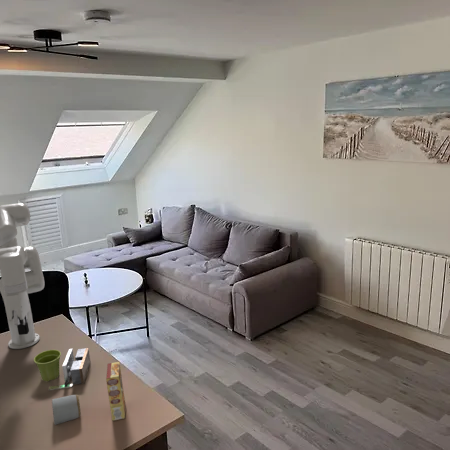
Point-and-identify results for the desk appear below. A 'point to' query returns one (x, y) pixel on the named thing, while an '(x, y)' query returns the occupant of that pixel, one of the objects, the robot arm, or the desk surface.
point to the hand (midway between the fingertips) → (24, 333)
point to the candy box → (115, 391)
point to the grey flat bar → (68, 366)
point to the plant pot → (48, 364)
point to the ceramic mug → (66, 408)
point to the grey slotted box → (77, 369)
